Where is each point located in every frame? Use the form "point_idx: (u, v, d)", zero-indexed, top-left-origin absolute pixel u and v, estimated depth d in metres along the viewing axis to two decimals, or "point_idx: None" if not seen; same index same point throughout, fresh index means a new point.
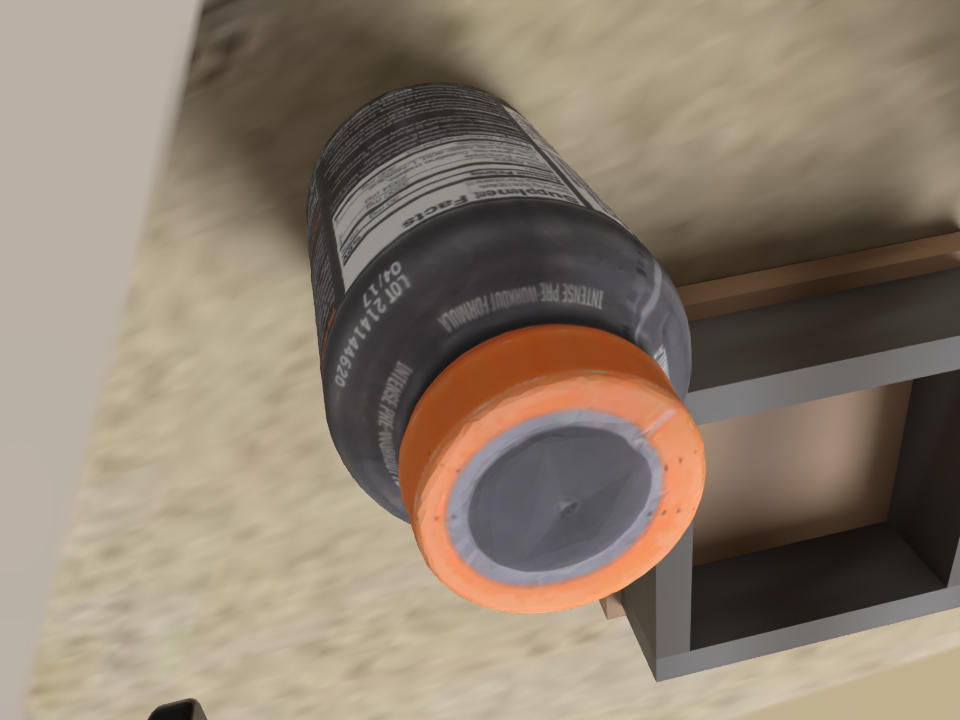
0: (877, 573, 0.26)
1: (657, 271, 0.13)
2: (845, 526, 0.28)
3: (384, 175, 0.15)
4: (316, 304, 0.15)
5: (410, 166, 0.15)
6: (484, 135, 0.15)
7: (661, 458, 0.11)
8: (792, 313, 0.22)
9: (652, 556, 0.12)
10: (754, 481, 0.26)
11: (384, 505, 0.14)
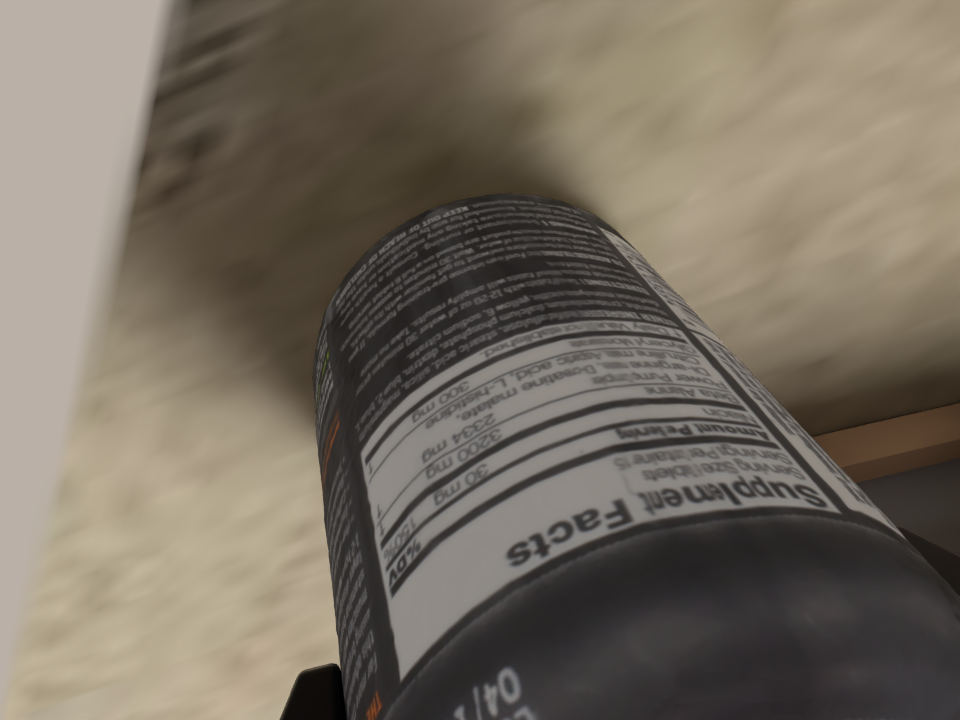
0: None
1: None
2: None
3: (450, 402, 0.09)
4: (337, 607, 0.09)
5: (498, 393, 0.09)
6: (609, 321, 0.09)
7: None
8: None
9: None
10: None
11: None
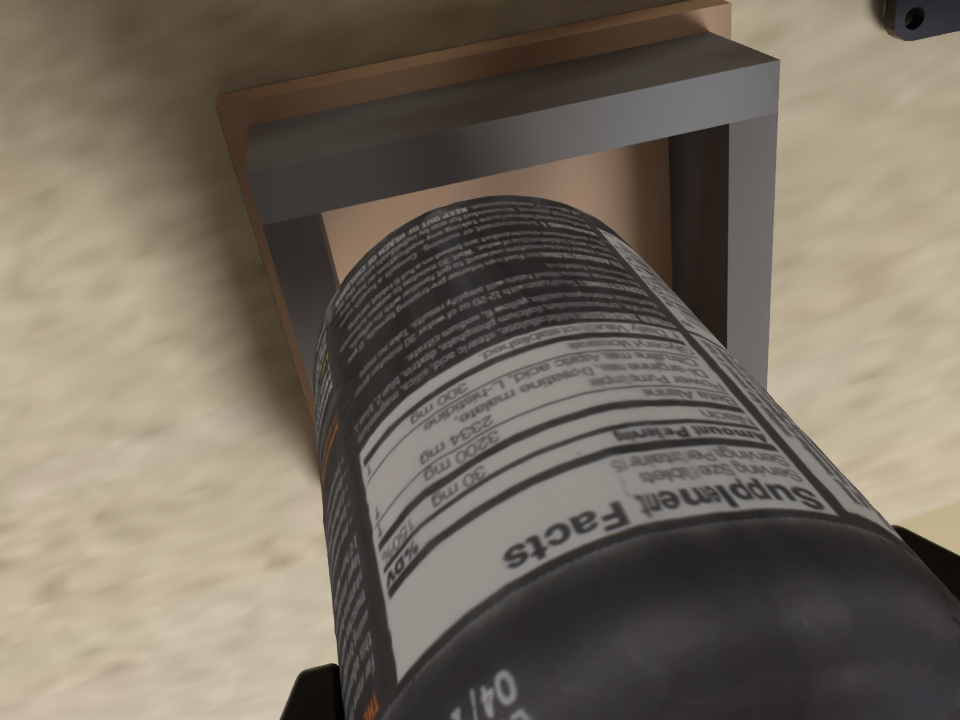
0: None
1: None
2: None
3: (448, 402, 0.09)
4: (336, 609, 0.09)
5: (495, 395, 0.09)
6: (607, 322, 0.09)
7: None
8: (474, 87, 0.18)
9: None
10: None
11: None
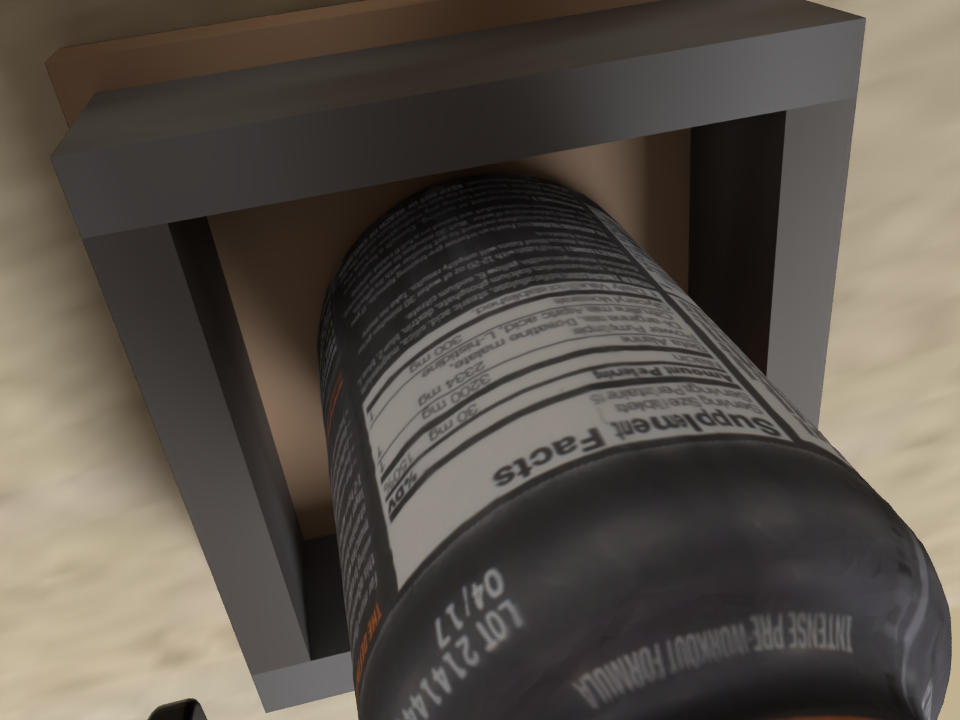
0: None
1: (920, 555, 0.08)
2: None
3: (445, 352, 0.10)
4: (341, 543, 0.10)
5: (487, 343, 0.09)
6: (590, 281, 0.10)
7: None
8: (420, 48, 0.12)
9: None
10: None
11: None
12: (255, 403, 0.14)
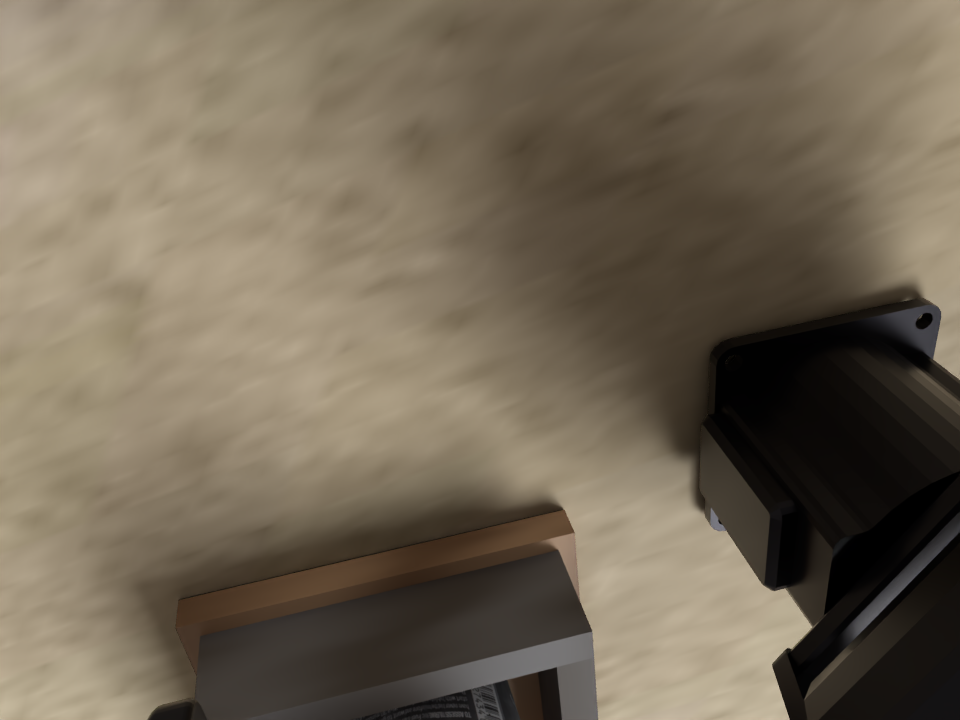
0: None
1: None
2: None
3: None
4: None
5: None
6: None
7: None
8: (372, 611, 0.23)
9: None
10: None
11: None
12: None
